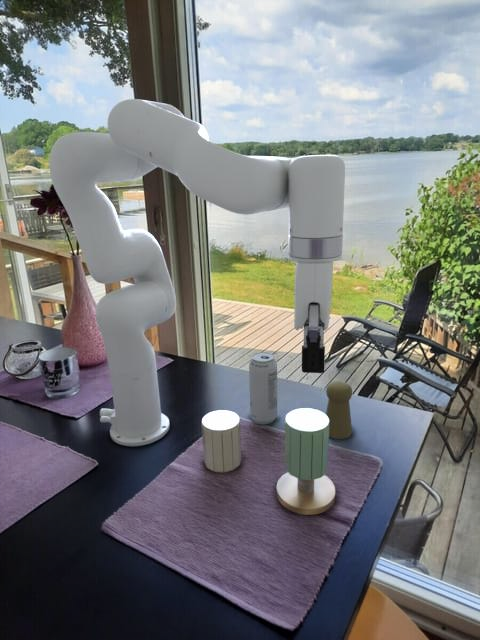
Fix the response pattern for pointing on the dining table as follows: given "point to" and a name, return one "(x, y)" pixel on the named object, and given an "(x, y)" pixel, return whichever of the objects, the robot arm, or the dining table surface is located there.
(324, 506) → the disc
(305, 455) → the green grooved cylinder
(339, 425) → the olive pawn figure
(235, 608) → the dining table surface
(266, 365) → the energy drink can
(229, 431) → the cup
